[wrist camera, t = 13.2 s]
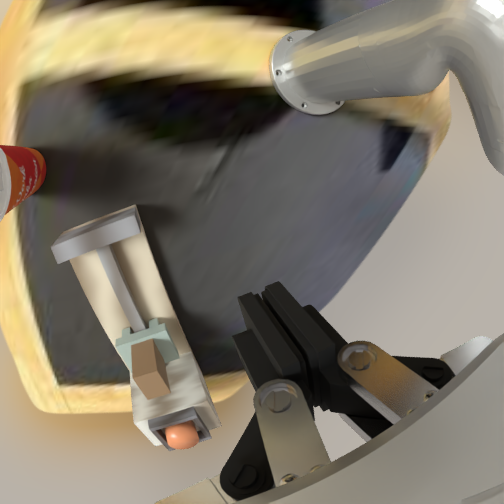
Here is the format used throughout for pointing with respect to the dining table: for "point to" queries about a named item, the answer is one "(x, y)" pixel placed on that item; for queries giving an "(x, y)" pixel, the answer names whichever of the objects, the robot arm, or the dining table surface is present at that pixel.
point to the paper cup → (19, 175)
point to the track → (137, 283)
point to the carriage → (148, 357)
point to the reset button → (182, 435)
